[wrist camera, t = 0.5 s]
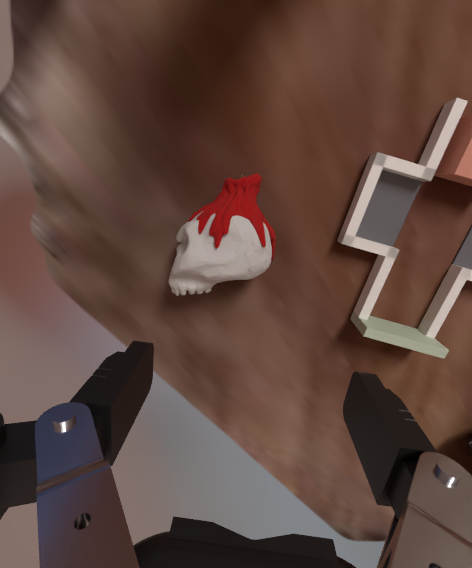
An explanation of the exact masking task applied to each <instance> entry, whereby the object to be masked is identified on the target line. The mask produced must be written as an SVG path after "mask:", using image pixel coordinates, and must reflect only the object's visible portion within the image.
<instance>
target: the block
mask: <svg viewBox="0 0 472 568" xmlns="http://www.w3.org/2000/svg"><path fill="white" fill-rule="evenodd" d="M434 176H437V177H440V178H444V179H447V180H450V181H454V182H457V183H461V184H464V185H468V186H471V187H472V115H470V116H467V117H464V118H461V119H459V122H458V124H457V126H456V128H455V130H454V133H453V135H452V137H451V139H450V141H449V143H448V146H447V148H446V150H445V152H444V154H443V156H442V159H441V161H440V163H439V165H438V167H437V169H436V172H435V174H434Z"/></svg>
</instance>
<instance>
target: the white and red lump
mask: <svg viewBox="0 0 472 568" xmlns="http://www.w3.org/2000/svg"><path fill="white" fill-rule="evenodd" d="M241 177H242V178H240V179H238V180H235V179H232V178H227V179H226V180H225V181H224V185H223V189H222V191H221V193H220V194H219V195H218V197H217V198H216V199H215V200H214V201H213V202H212V203H210V204H208V205H205V206H204V207H202V208H201V209H200V210H198V211H197V212H195V213H193V215H192V216H191V218H190V219H189V221H188V222H187V223H186V224H184V225H183V226H182V227H181V229H180V230H179V232H178V234H177V236H176V240H177V241H178V242H182V243H181V244H179V245H178V247H177V249H176V250H177V256H176V258H175V261H174V264H173V266H172V270H171V274H170V278H169V285H170V286H171V290H172V292H173V293H175V294H176V296H179V293H180V294H181V295H185V294H186V291H187V290H188V291H189V294H195V292H196V291H197V294H202V293H203V291H205V293H208V292H210V291H211V288H212V287H213V285H215V284H216V283H219V282H224V281H230V280H250V279H253V278H255V277H257V276H258V275H260V274H262V273H263V272H264V271H266V269H267V268H268V267H269V265H270V262H271V260H272V261H273V257H274V251H275V232H274V230H273V228H272V227H271V226H270V225H269V223H268V222H267V220H266V219H265V217H264V215H263V214H262V212H261V211H260V209H259V207H258V205H257V203H256V195H257V194H258V192H259V188H260V184H261V180H262V177H261V176H260V175H259V174H257V173H254V174H253V175H251V176H249V177H243V175H241Z"/></svg>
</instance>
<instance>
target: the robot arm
mask: <svg viewBox="0 0 472 568" xmlns="http://www.w3.org/2000/svg"><path fill="white" fill-rule="evenodd" d="M153 355H154V346H153V343H147V342H140V341H133V342H132V343H131V344H130V346H129V347H128V348H127V350H126V351H125V352H116V353H114V354H113V355H111V356H109V357H107V358H106V359H105V360H104V361H103V363H102V364H101V365H100V366H99V368H98V369H97V370H96V371H95V372H94V373H93V376H91V377H90V378H89V379H88V380H87V382H86V383H85V384H84V385H83V386H82V387H81V389H80V390H79V391H78V392H77V393H76V395H75V396H74V397H73V398H72V399H71V401H70V402H69V403H63V404H60V405H57V406H54V407H52V408H51V409H48V410H47V411H46V412H44V413H43V414H42V415H41V416H40V417H39V418H38V420H36V421H29V422H20V423H12V424H4V419H3V416H2V414H1V413H0V519H1V518H2V516H3V515H4V513H5V512H6V511H7V509H8V508H9V507H13V506H19V505H23V504H29V503H34V502H37V517H38V538H39V559H40V568H356V567H354V566H353V565H352V564H350V563H348V562H347V561H345V560H343V559H342V558H340V557H337V555H336V551H335V546H334V542H333V540H332V539H326V538H320V537H312V536H306V535H298V534H289V535H284V536H277V537H272V538H265V539H259V540H251V539H249V538H246V537H244V536H242V535H240V534H237V533H235V532H233V531H231V530H229V529H226V528H224V527H222V526H220V525H218V524H215V523H213V522H208V521H201V520H194V519H187V518H180V517H173V521H172V525H171V529H170V531H169V532H163V533H160V534H156V535H154V536H151V537H148V538H146V539H144V540H142V541H140V542H139V543H137V544H135V545H133V543H132V540H131V536H130V533H129V529H128V526H127V523H126V519H125V515H124V512H123V509H122V505H121V502H120V498H119V495H118V491H117V488H116V484H115V481H114V477H113V474H112V471H111V467H110V466H112V465H113V463H114V461H115V459H116V457H117V455H118V453H119V451H120V449H121V447H122V445H123V443H124V441H125V439H126V437H127V435H128V433H129V431H130V429H131V427H132V425H133V423H134V421H135V419H136V417H137V415H138V413H139V411H140V409H141V407H142V405H143V403H144V401H145V399H146V397H147V395H148V393H149V390H150V388H151V384H152V378H153ZM343 415H344V420H345V423H346V425H347V428H348V430H349V433H350V435H351V438H352V441H353V443H354V446H355V448H356V451H357V454H358V456H359V459H360V461H361V464H362V466H363V469H364V472H365V474H366V477H367V479H368V482H369V484H370V487H371V490H372V492H373V495H374V497H375V500H376V503H377V505H384V506H391V507H392V508H393V510H394V512H395V515H394V517H393V519H392V522H391V525H390V528H389V531H388V534H387V537H386V541H385V544H384V547H383V550H382V553H381V556H380V559H379V563H378V566H377V568H472V476H471V475H470V474H469V473H468V472H467V471H466V470H465V469H464V468H463V467H462V466H461V465H460V464H458V463H457V462H455V461H454V460H452V459H451V458H449V457H447V456H445V455H442V454H439V453H438V452H437V451H436V450H435V448H434V447H433V445H432V444H431V442H430V441H429V439H428V438H427V436H426V435H425V434H424V432H423V431H422V429H421V428H420V426H419V425H418V423H417V422H415V419H414V418H413V416H412V415H411V413H410V412H408V409H407V407H406V406H405V404H404V403H403V402H402V400H401V399H400V398H399V397H398V396H397V395H395V394H394V393H393V392H392V391H391V390H389V389H385V387H384V386H383V384H382V383H381V381H380V380H379V378H378V377H377V375H376V374H371V373H363V372H354V373H353V375H352V377H351V381H350V384H349V387H348V391H347V394H346V397H345V401H344V405H343Z"/></svg>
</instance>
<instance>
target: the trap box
mask: <svg viewBox="0 0 472 568" xmlns="http://www.w3.org/2000/svg"><path fill="white" fill-rule="evenodd" d="M467 102H468V101H466V100H462V99H459V98H455V99H453V100H451V101H449V102H446V103H445V104H444V106H443V108H442V111H441V113H440V115H439V117H438V120H437V122H436V124H435V126H434V129H433V131H432V133H431V136H430V138H429V140H428V142H427V145H426V147H425V149H424V152H423V154H422V156H421V158H420V161H419V163H418V164H415V163H412V162H408V161H405V160H402V159H398V158H395V157H392V156H388V155H385V154H382V153H378V152H377V153H373V154H370V157H369V159H368V162H367V165H366V167H365V170H364V172H363V175H362V177H361V180H360V183H359V185H358V188H357V190H356V193H355V195H354V198H353V201H352V203H351V206H350V208H349V211H348V214H347V216H346V219H345V221H344V224H343V226H342V229H341V232H340V234H339V237H338V239H337V241H338V242H339V243H341V244H344V245H347V246H351V247H354V248H358V249H361V250H365V251H368V252H372V253H375V254H378V256H377V259H376V261H375V263H374V265H373V268H372V270H371V272H370V275H369V277H368V279H367V281H366V284H365V286H364V288H363V291H362V293H361V295H360V297H359V300H358V302H357V304H356V306H355V309H354V311H353V313H352V316H351V318H350V319H351V321H352V322H353V323H354V325H355V326H356V327H357V329H358V330H359V331H360V333H361V334H362V335H363V336H364V337H368V338H371V339H375V340H379V341H382V342H386V343H389V344H393V345H397V346H400V347H404V348H408V349H411V350H415V351H418V352H422V353H426V354H429V355H433V356H436V357H440V358H445V357H446V355H447V353H448V351H449V350H448V349H447V348H446V347H444V346H443V345H442V344H441V343H439V342H438V341H437V340H436V339H435V336H436V334H437V333H438V331H439V329H440V327H441V325H442V324H443V322H444V320H445V318H446V316H447V315H448V313H449V311H450V309H451V307H452V306H453V304H454V302H455V300H456V298H457V296H458V295H459V293H460V291H461V289H462V287H463V286H464V284H465V282H466V280H469V281H472V226H471V228H470V230H469V232H468V234H467V236H466V238H465V239H464V241H463V243H462V245H461V247H460V249H459V251H458V253H457V255H456V257H455V258H454V260H453V262H452V264H451V266H450V268H449V270H448V272H447V274H446V276H445V278H444V279H443V281H442V283H441V285H440V287H439V289H438V291H437V293H436V295H435V297H434V298H433V300H432V302H431V304H430V306H429V308H428V310H427V312H426V314H425V316H424V317H423V319H422V321H421V323H420V325H419V327H418V329H416V328H412V327H409V326H405V325H401V324H398V323H394V322H391V321H387V320H384V319H380V318H376V317H373V316H369V315H370V313H371V311H372V309H373V306H374V304H375V302H376V300H377V298H378V296H379V293H380V291H381V289H382V287H383V285H384V282H385V280H386V278H387V276H388V274H389V272H390V269H391V267H392V265H393V263H394V261H395V259H396V256H397V254H398V252H399V249H397V248H394V247H393V245H394V243H395V241H396V238H397V236H398V234H399V232H400V230H401V227H402V225H403V223H404V221H405V218H406V216H407V214H408V212H409V210H410V207H411V205H412V203H413V201H414V199H415V196H416V194H417V192H418V190H419V187H420V185H421V183H422V181H431V180H432V178H433V176H434V174H435V172H436V169H437V167H438V165H439V163H440V161H441V159H442V156H443V154H444V152H445V150H446V148H447V146H448V143H449V141H450V139H451V137H452V135H453V133H454V130H455V128H456V126H457V124H458V122H459V119H460V117H461V115H462V113H463V111H464V109H465V106H466V104H467Z"/></svg>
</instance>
